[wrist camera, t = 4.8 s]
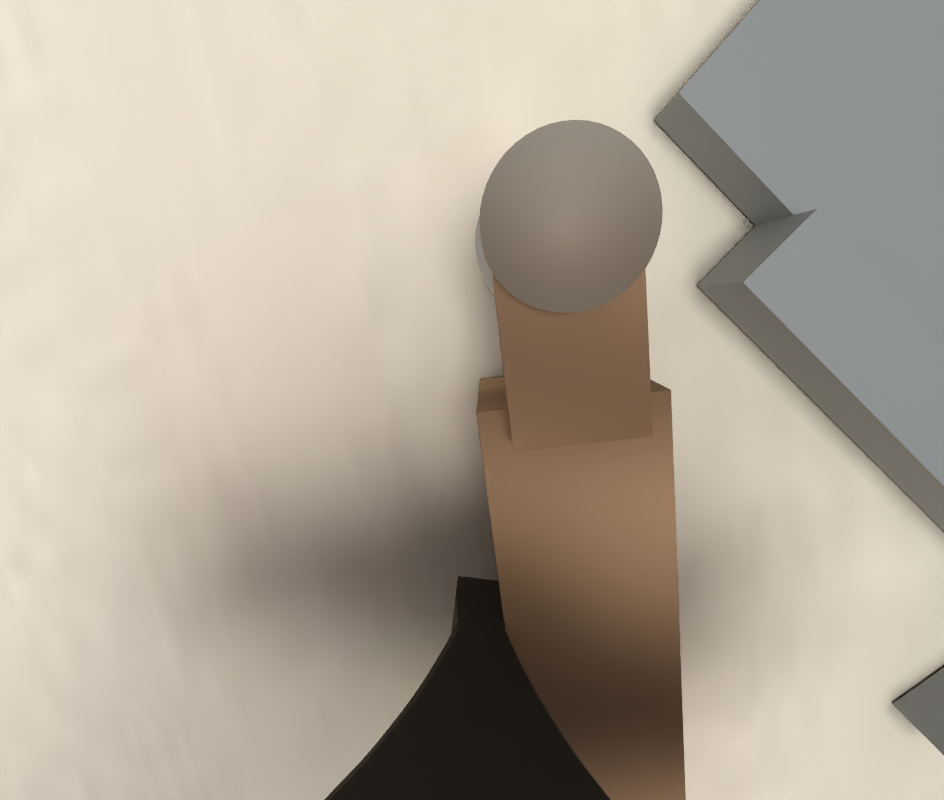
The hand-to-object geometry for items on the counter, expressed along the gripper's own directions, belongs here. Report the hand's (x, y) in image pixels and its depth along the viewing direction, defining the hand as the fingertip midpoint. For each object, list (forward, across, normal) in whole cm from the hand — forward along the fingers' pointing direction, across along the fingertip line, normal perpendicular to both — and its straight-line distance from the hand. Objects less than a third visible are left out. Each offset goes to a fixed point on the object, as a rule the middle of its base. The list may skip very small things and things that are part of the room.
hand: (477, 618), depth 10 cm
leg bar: (+1, -2, -2) cm, 3 cm away
